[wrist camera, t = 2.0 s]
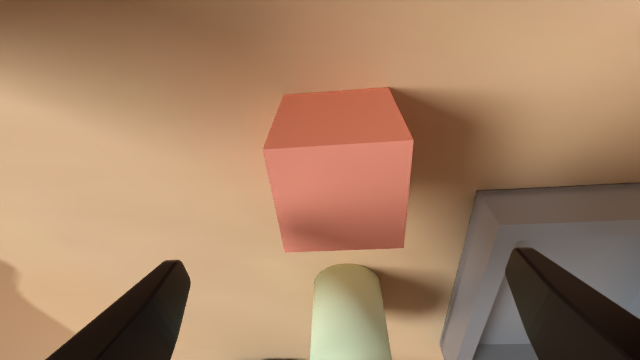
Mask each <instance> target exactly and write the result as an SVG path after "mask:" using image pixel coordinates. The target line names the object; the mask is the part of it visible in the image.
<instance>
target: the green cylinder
mask: <svg viewBox="0 0 640 360" xmlns="http://www.w3.org/2000/svg"><path fill="white" fill-rule="evenodd" d="M310 360H392V358H391V351H390V345H389V338H388V332H387V325H386V319H385V312H384V306H383V299H382V293H381V286H380V281H379V278H378V276H377V275H376V274H375V273H374V272H373V271H372V270H370V269H368V268H366V267H364V266H361V265H356V264H339V265H334V266H331V267H328V268H326V269H324V270H323V271H322V272H320V273H319V274H318V276H317V277H316V279H315V282H314V295H313V313H312V331H311V350H310Z"/></svg>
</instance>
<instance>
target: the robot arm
mask: <svg viewBox="0 0 640 360" xmlns="http://www.w3.org/2000/svg"><path fill="white" fill-rule="evenodd" d="M505 275H506V279H507V282H508V284H509V287H510V290H511V293H512V296H513V298H514V301H515V304H516V307H517V310H518V312H519V315H520V318H521V321H522V324H523V326H524V329H525V331H526V334H527V336H528V338H529V341H530V343H531V345H532V347H533V349H534V351H535V353H536V355H537V358H538V360H640V319H639V318H637V317H636V316H634V315H633V314H631V313H630V312H628V311H627V310H625V309H624V308H622V307H621V306H619V305H618V304H616V303H615V302H613V301H612V300H610V299H609V298H607V297H606V296H604V295H603V294H601V293H600V292H598V291H597V290H595V289H594V288H592V287H591V286H589V285H588V284H586V283H585V282H583V281H582V280H580V279H579V278H577V277H576V276H574V275H573V274H571V273H570V272H568V271H567V270H565V269H564V268H562V267H561V266H559V265H558V264H556V263H555V262H553V261H552V260H550V259H549V258H547V257H546V256H544V255H543V254H541V253H540V252H538V251H537V250H535V249H533V248H531V247H516V248H514V249H513V250H512V251H511V254H510V257H509V259H508V262H507V265H506V268H505ZM190 284H191V282H190V277H189V275H188V273H187V271H186V269H185V267H184V265H183V263H182V262H181V261H180V260H166V261H164V262H162V263H161V264H160V265H159V266H158V267H156V268H155V269H154V270H153V271H152V272H150V273H149V274H148V275H147V276H145V277H144V278H143V279H142V280H141V281H139V282H138V283H137V284H136V285H135V286H133V287H132V288H131V289H130V290H129V291H127V292H126V293H125V294H124V295H123V296H121V297H120V298H119V299H118V300H117V301H115V302H114V303H113V304H112V305H111V306H109V307H108V308H107V309H106V310H104V311H103V312H102V313H101V314H100V315H98V316H97V317H96V318H95V319H94V320H92V321H91V322H90V323H89V324H88V325H86V326H85V327H84V328H83V329H82V330H80V331H79V332H78V333H77V334H76V335H74V336H73V337H72V338H71V339H70V340H68V341H67V342H66V343H65V344H63V345H62V346H61V347H60V348H59V349H57V350H56V351H55V352H54V353H53V354H51V355H50V356H49V357H48V358H47V359H45V360H170V359H171V356H172V353H173V350H174V348H175V344H176V341H177V338H178V334H179V331H180V327H181V323H182V318H183V314H184V310H185V306H186V302H187V298H188V294H189V290H190Z"/></svg>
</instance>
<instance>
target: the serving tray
mask: <svg viewBox="0 0 640 360" xmlns="http://www.w3.org/2000/svg"><path fill="white" fill-rule="evenodd" d="M516 247H531V248H533V249H535V250H537V251H538V252H540V253H541V254H543V255H544V256H546V257H547V258H549V259H550V260H552V261H553V262H555V263H556V264H558V265H559V266H561V267H562V268H564V269H565V270H567V271H568V272H570V273H571V274H573V275H574V276H576V277H577V278H579V279H580V280H582V281H583V282H585V283H586V284H588V285H589V286H591V287H592V288H594V289H595V290H597V291H598V292H600V293H601V294H603V295H604V296H606V297H607V298H609V299H610V300H612V301H613V302H615V303H616V304H618V305H619V306H621V307H622V308H624V309H625V310H627V311H628V312H630V313H631V314H633V315H634V316H636V317H637V318H639V319H640V183H626V184H606V185H585V186H565V187H545V188H525V189H505V190H485V191H477V194H476V198H475V202H474V206H473V210H472V214H471V218H470V222H469V227H468V231H467V235H466V239H465V243H464V247H463V251H462V255H461V259H460V263H459V267H458V271H457V275H456V279H455V283H454V287H453V291H452V296H451V300H450V304H449V308H448V312H447V316H446V320H445V324H444V328H443V332H442V336H441V340H440V347H441V351H442V354H443V358H444V360H538V358H537V355H536V353H535V351H534V349H533V347H532V345H531V343H530V341H529V338H528V336H527V334H526V331H525V329H524V326H523V324H522V321H521V318H520V315H519V312H518V310H517V307H516V304H515V301H514V298H513V296H512V293H511V290H510V287H509V284H508V282H507V279H506V275H505V268H506V265H507V262H508V259H509V257H510V254H511V251H512V250H513V249H514V248H516Z"/></svg>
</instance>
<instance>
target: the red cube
mask: <svg viewBox="0 0 640 360" xmlns="http://www.w3.org/2000/svg"><path fill="white" fill-rule="evenodd" d="M413 142H414V140H413V138H412V136H411V133H410V131H409V129H408V127H407V125H406V123H405V121H404V119H403V117H402V115H401V113H400V111H399V109H398V107H397V104H396V102H395V100H394V98H393V96H392V94H391V92H390V90H389V88H388V87H384V88H370V89H357V90H343V91H330V92H316V93H303V94H289V95H283V98H282V101H281V103H280V106H279V108H278V111H277V114H276V116H275V119H274V122H273V124H272V127H271V129H270V132H269V135H268V137H267V140H266V143H265V145H264V148H263V152H264V157H265V162H266V166H267V171H268V176H269V180H270V185H271V190H272V194H273V199H274V204H275V208H276V213H277V218H278V222H279V227H280V232H281V236H282V241H283V246H284V251H285V252H307V251H335V250H362V249H389V248H404V238H405V228H406V217H407V206H408V196H409V185H410V174H411V164H412V153H413Z"/></svg>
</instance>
